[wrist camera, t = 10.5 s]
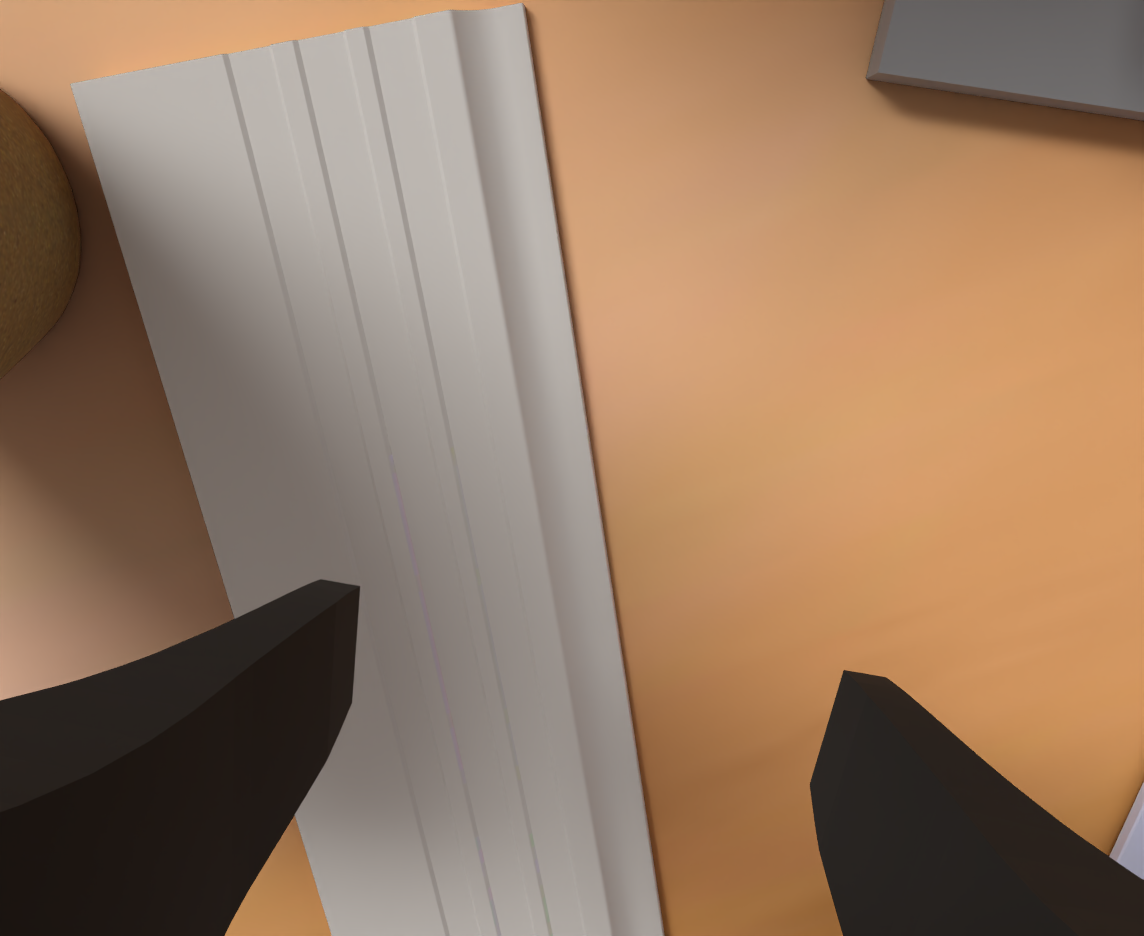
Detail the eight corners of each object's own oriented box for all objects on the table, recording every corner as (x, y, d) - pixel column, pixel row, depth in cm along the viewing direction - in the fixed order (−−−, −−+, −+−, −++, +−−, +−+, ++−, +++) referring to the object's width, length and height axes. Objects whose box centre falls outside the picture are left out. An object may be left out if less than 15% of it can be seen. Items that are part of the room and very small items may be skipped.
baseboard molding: (591, -1, 19) (111, 92, 20) (581, -35, 16) (26, 75, 17) (721, 1012, 28) (385, 1023, 29) (729, 1102, 25) (358, 1108, 27)
